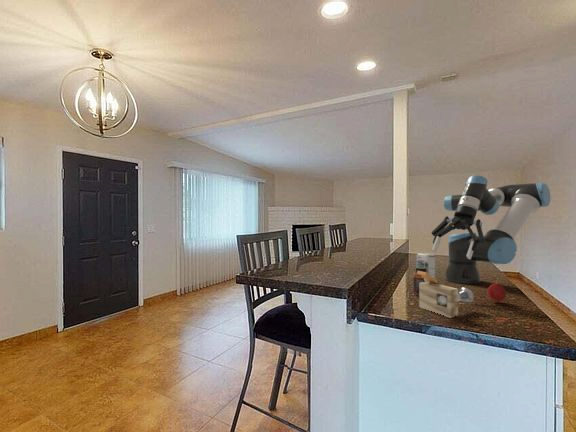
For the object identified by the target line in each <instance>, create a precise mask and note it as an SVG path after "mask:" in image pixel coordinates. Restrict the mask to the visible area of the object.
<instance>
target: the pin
mask: <svg viewBox="0 0 576 432" xmlns="http://www.w3.org/2000/svg"><path fill="white" fill-rule="evenodd" d="M474 298H475V295H474V292H473V291H472V289H470V288H469V287H461V288H460V289H459V288H458V302H464V303H471V302H472V301H474ZM438 302H439V303H440V304H441V305H445V304H447V296H446V295H441V296H439V297H438Z"/></svg>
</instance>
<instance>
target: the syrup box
mask: <svg viewBox="0 0 576 432" xmlns="http://www.w3.org/2000/svg"><path fill="white" fill-rule="evenodd" d="M435 262H436V253H435V254H433V253H426V252H419V253H416V267H426V272H427V273H428V274H429V275H431V276H432V277H433V278H435V279H436V277H435V276H436V263H435Z"/></svg>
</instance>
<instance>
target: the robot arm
mask: <svg viewBox="0 0 576 432" xmlns="http://www.w3.org/2000/svg"><path fill="white" fill-rule="evenodd" d="M488 182H489V181H488V179H487V177H484V176H482V175H479V174H478V175H477V174H476V175H470V176H469V177H468V178H467V181H466V182H465V184H464V187H463V190H462V194H451V195H447V196H445V197H444V199H443V207H444V209H445V210H446V211H449V212H450V211H451V212H454V214H453V217H449V216H448V215H447V216H445V217H444V219H443V220H442V221H441V222H440V223H439V224H438V225H437V226H436V227H435V228H434V229H433V230H432V231H431V234H432V235H431V236H433V240H432V243H433V245H432V247H431V251H432V252H433V253H435V254H436V253H437V252H438V249H439V246H440V244H441V240H442V238H441V237H443V236H445V235H446V234H448V233H450V232H451V231H453V230H462V231H465V230H467V232H463V233H462V232H461V233H452V234H449V236H448V265H447V268H446V271H445V273H444V279H445V280H446V281H448V282H452V283H454V284H455V283H457V284H462V285H463V284H466V285H469V284H470V285H471V284H472V285H473V284H475V285H476V284H479V283H481V281H482V279H481V278H482V277H481V275H480V272H479V269H478V266H477V262H483V263H489V264H495V265H508V264H509V263H511V262H512V261H513V260H514V259H515V258H516V252H517V251H518V250H517V248H518V247H517V243H516V241H515V238H516V236H517V235H518V234H519V232H520V230H521V229H522V228H523V226H524V225H525V224H526V222H527V220H528V219H529V217H530V216H531V214H534V213H536V212H537V211H539V209H540V208H541V207H542V208H544V207H545V208H546V207H549V205H550V204H551V192H550V187H549V186H548V184H546V183H545V182H533V183H532V182H531V183H521V184H520V183H519V184H508V185H502V186H499V187H493V188H490V189H488V188H487V186H488ZM500 207H507V208H508V207H509V208H508V210H506V212H505V214H504V215H503V216H502V218H501V219H500V221H499V222H498V223H497V224H496V226H495V227H494V228H492V229H490V230H487V232H486V233H485V234H484V232H483V229H482V225H483V223H482V221H481V219H480V218H478V219H476V216H477V212H480V213H482V214H484V215H486V216H490V215H494V214H495V213H497V212H498V211H499V209H500ZM475 219H476V220H475ZM473 225H475V227H476V231H477V233H476V232H474V231H473V230H472V228H471V227H472V226H473Z"/></svg>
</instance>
